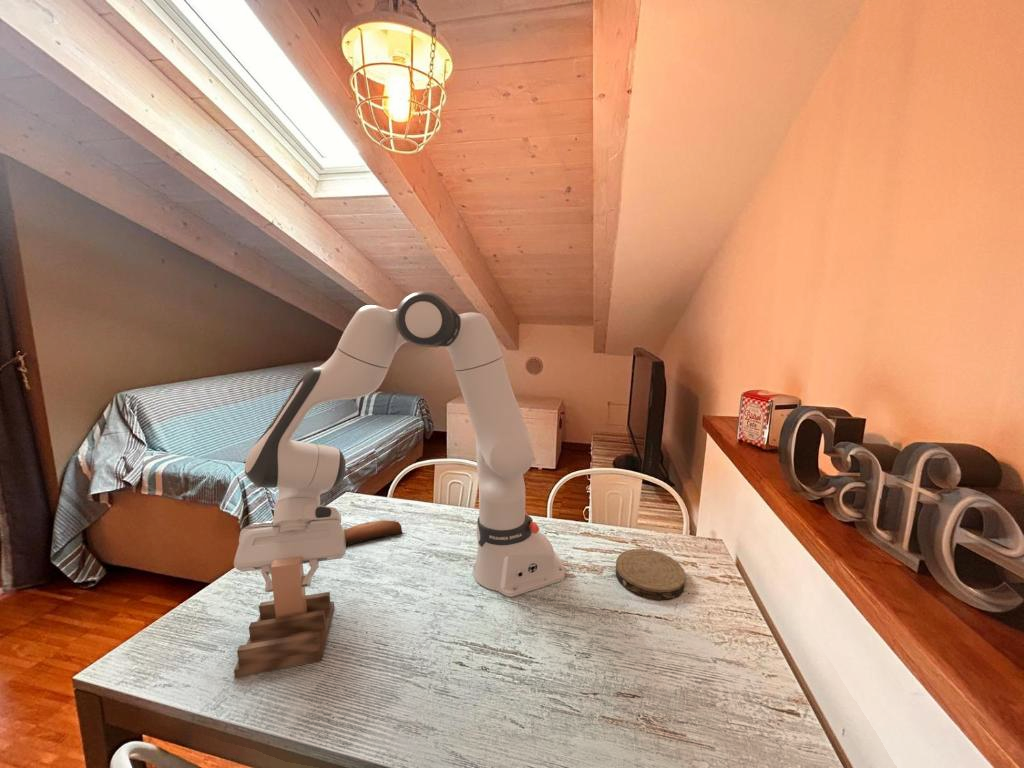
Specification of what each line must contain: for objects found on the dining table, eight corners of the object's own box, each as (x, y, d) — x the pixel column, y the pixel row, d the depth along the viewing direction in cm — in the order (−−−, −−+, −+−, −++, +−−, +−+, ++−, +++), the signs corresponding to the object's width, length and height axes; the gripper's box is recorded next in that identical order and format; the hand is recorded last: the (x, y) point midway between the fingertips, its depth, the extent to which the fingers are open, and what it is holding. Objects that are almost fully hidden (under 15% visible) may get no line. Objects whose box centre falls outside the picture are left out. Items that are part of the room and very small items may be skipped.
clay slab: (307, 609, 83) (302, 556, 81) (304, 618, 81) (299, 563, 79) (279, 614, 82) (274, 560, 80) (276, 622, 80) (270, 567, 77)
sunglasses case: (396, 520, 124) (398, 507, 120) (401, 541, 119) (402, 528, 115) (332, 534, 116) (331, 521, 112) (335, 557, 111) (334, 544, 107)
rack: (334, 607, 88) (332, 588, 87) (321, 660, 74) (319, 639, 73) (261, 619, 84) (259, 600, 83) (234, 677, 71) (231, 655, 70)
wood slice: (644, 552, 109) (645, 542, 108) (699, 586, 96) (700, 574, 95) (601, 572, 100) (602, 561, 100) (654, 612, 87) (655, 599, 87)
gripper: (236, 519, 82) (221, 595, 74) (344, 508, 87) (341, 577, 80) (247, 528, 87) (234, 600, 79) (348, 517, 92) (345, 583, 85)
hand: (288, 588), depth 80 cm, fingers closed on clay slab, 5 cm apart
